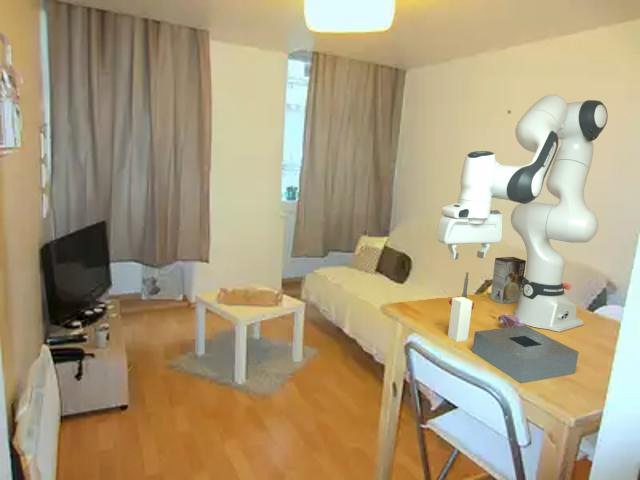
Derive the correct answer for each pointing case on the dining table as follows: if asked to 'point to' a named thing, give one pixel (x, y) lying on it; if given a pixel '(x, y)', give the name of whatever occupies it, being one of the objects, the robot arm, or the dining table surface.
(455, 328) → the peg
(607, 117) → the robot arm
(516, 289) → the coffee box
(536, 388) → the dining table surface
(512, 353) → the socket block
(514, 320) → the video game controller
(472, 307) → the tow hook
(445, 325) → the dining table surface
